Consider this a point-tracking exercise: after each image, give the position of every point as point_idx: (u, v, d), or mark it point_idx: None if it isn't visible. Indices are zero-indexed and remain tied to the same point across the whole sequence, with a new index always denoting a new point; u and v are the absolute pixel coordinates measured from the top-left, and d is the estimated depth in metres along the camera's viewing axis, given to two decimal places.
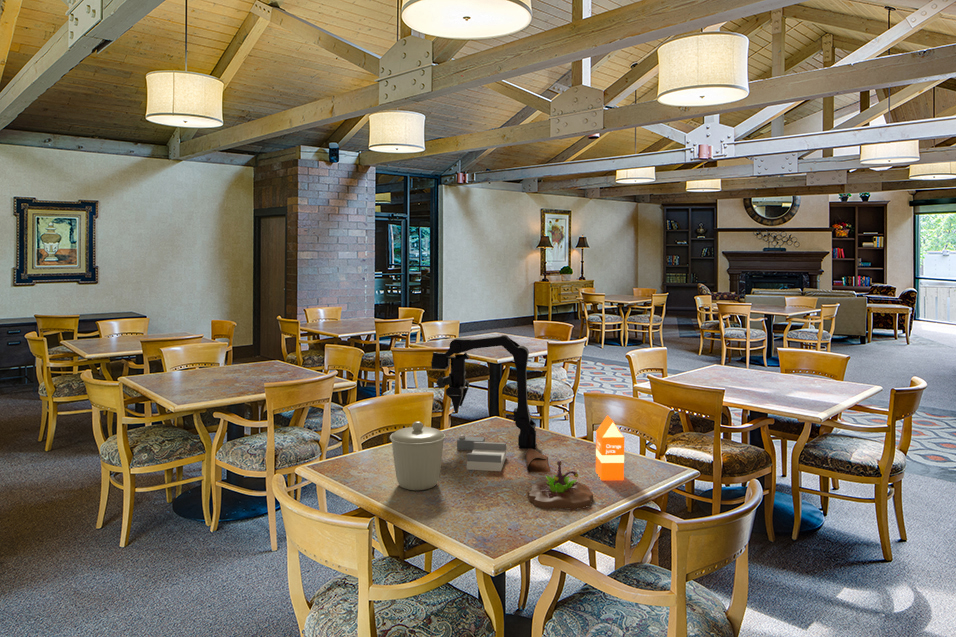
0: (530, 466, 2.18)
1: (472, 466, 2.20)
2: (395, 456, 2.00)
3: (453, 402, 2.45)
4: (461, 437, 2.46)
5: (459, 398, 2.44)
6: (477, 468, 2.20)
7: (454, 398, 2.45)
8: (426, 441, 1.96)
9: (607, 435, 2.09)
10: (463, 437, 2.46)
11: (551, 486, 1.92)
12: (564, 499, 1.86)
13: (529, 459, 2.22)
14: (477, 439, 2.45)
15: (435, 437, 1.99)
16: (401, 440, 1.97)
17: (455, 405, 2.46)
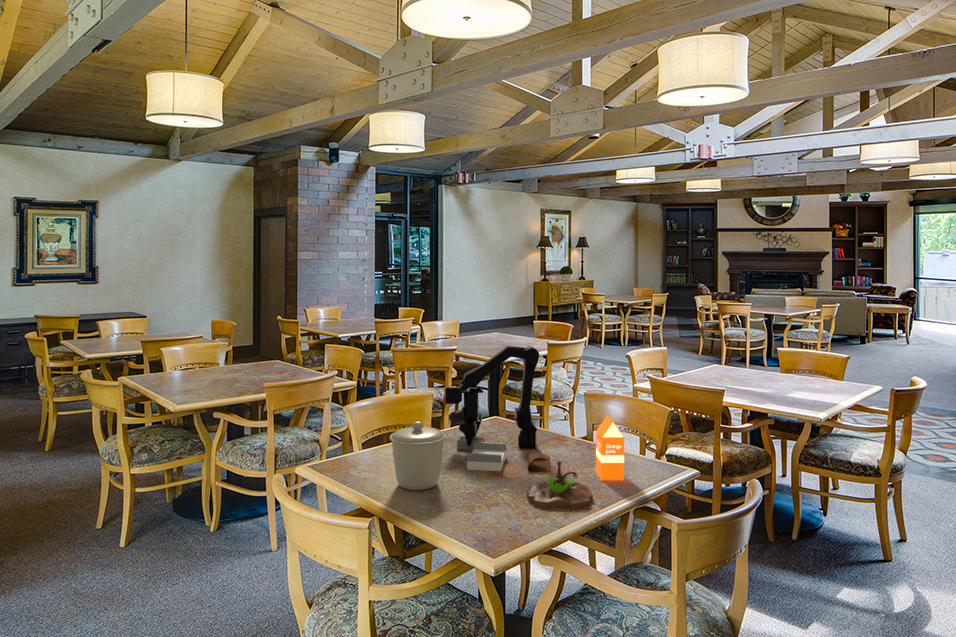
0: (531, 466, 2.18)
1: (472, 466, 2.20)
2: (395, 456, 2.00)
3: (466, 437, 2.41)
4: (461, 437, 2.46)
5: (472, 433, 2.40)
6: (477, 468, 2.20)
7: (467, 433, 2.41)
8: (426, 441, 1.96)
9: (607, 435, 2.09)
10: (463, 437, 2.46)
11: (551, 486, 1.92)
12: (563, 499, 1.86)
13: (530, 459, 2.22)
14: (477, 439, 2.45)
15: (435, 437, 1.99)
16: (401, 440, 1.97)
17: (468, 441, 2.41)
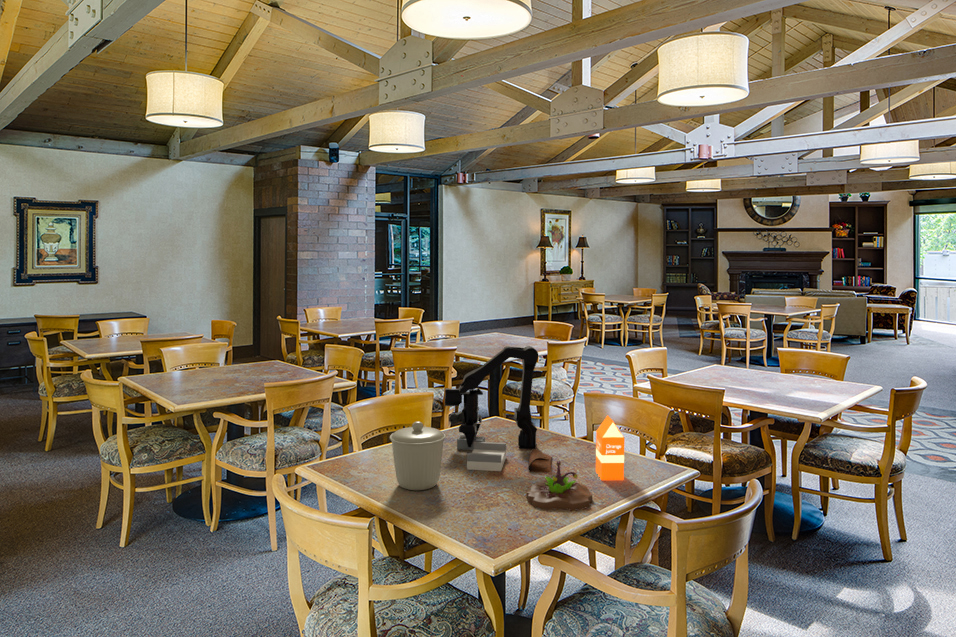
0: (532, 466, 2.18)
1: (472, 466, 2.20)
2: (395, 456, 2.00)
3: (467, 438, 2.42)
4: (461, 436, 2.46)
5: (473, 434, 2.41)
6: (477, 468, 2.20)
7: (468, 434, 2.42)
8: (426, 441, 1.96)
9: (607, 435, 2.09)
10: (463, 436, 2.46)
11: (550, 487, 1.92)
12: (563, 500, 1.86)
13: (531, 459, 2.22)
14: (477, 438, 2.45)
15: (435, 437, 1.99)
16: (401, 440, 1.97)
17: (468, 441, 2.43)
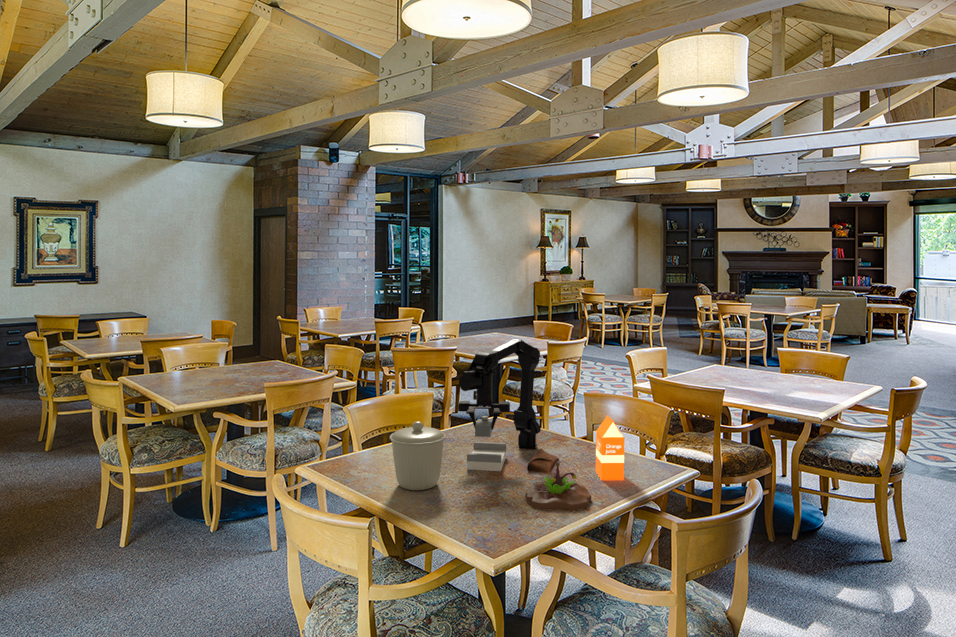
0: (530, 466, 2.19)
1: (472, 466, 2.20)
2: (395, 456, 2.00)
3: None
4: None
5: None
6: (477, 468, 2.20)
7: None
8: (426, 441, 1.96)
9: (607, 435, 2.09)
10: (482, 418, 2.32)
11: (549, 487, 1.91)
12: (561, 500, 1.85)
13: (532, 459, 2.23)
14: (481, 424, 2.27)
15: (435, 437, 1.99)
16: (401, 440, 1.97)
17: None
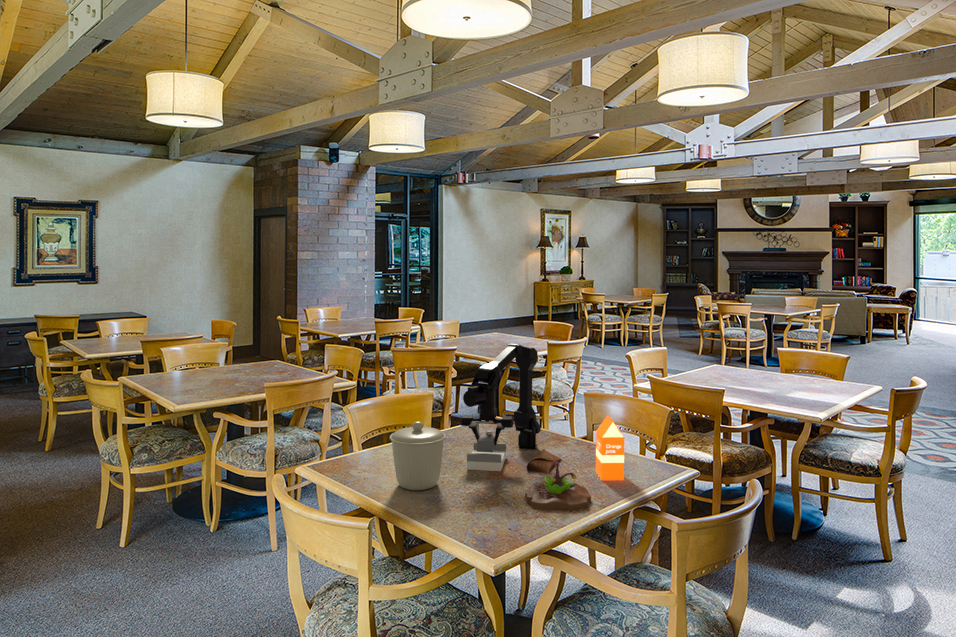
0: (529, 465, 2.19)
1: (472, 466, 2.20)
2: (395, 456, 2.00)
3: None
4: None
5: None
6: (477, 468, 2.20)
7: None
8: (426, 441, 1.96)
9: (607, 435, 2.09)
10: (486, 433, 2.30)
11: (548, 487, 1.91)
12: (561, 500, 1.85)
13: (532, 459, 2.23)
14: (483, 439, 2.24)
15: (435, 437, 1.99)
16: (401, 440, 1.97)
17: None
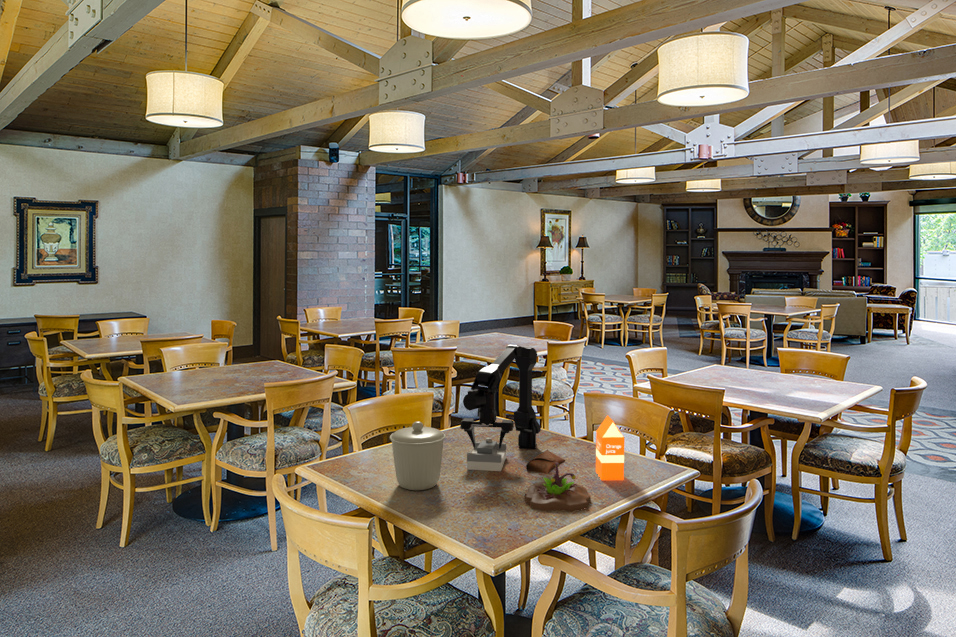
0: (529, 465, 2.19)
1: (472, 466, 2.20)
2: (395, 456, 2.00)
3: None
4: None
5: None
6: (477, 468, 2.20)
7: None
8: (426, 441, 1.96)
9: (607, 435, 2.09)
10: (486, 440, 2.30)
11: (548, 488, 1.91)
12: (560, 501, 1.85)
13: None
14: (484, 446, 2.25)
15: (435, 437, 1.99)
16: (401, 440, 1.97)
17: None
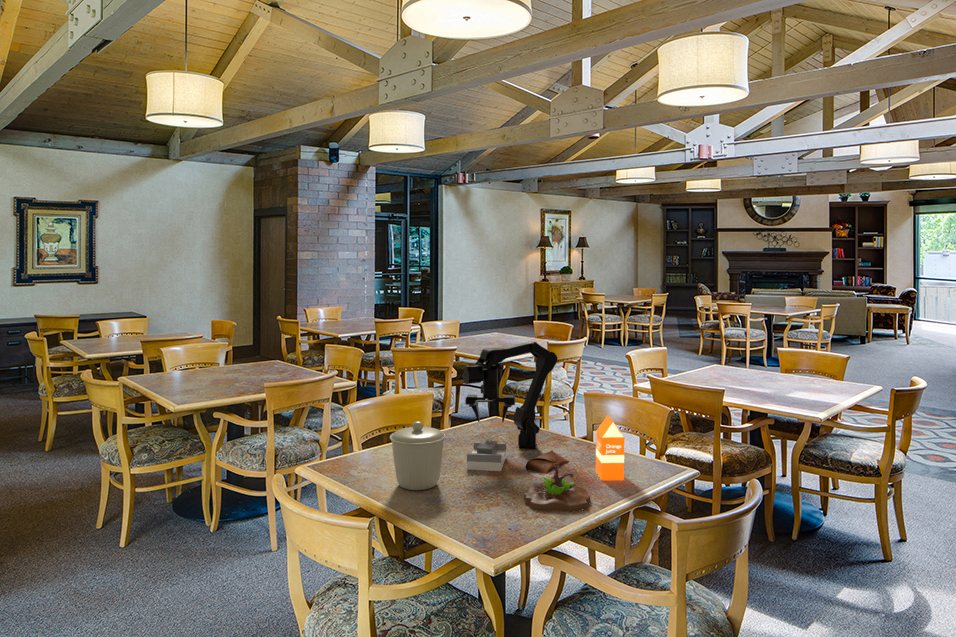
0: (528, 465, 2.20)
1: (472, 466, 2.20)
2: (395, 456, 2.00)
3: None
4: None
5: None
6: (477, 468, 2.20)
7: None
8: (426, 441, 1.96)
9: (607, 435, 2.09)
10: (486, 440, 2.30)
11: (548, 488, 1.90)
12: (560, 501, 1.84)
13: None
14: (484, 446, 2.25)
15: (435, 437, 1.99)
16: (401, 440, 1.97)
17: None
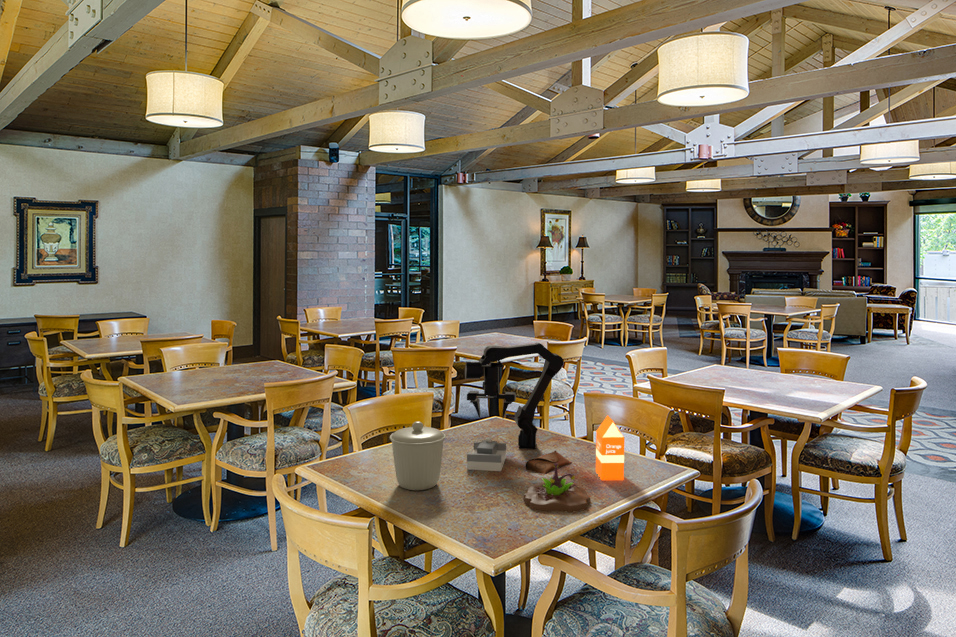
0: (528, 464, 2.20)
1: (472, 466, 2.20)
2: (395, 456, 2.00)
3: None
4: None
5: None
6: (477, 468, 2.20)
7: None
8: (426, 441, 1.96)
9: (607, 435, 2.09)
10: (486, 440, 2.30)
11: (547, 488, 1.90)
12: (560, 502, 1.84)
13: None
14: (484, 446, 2.25)
15: (435, 437, 1.99)
16: (401, 440, 1.97)
17: None
